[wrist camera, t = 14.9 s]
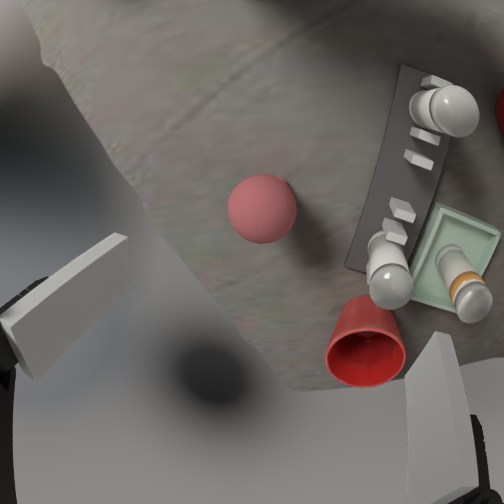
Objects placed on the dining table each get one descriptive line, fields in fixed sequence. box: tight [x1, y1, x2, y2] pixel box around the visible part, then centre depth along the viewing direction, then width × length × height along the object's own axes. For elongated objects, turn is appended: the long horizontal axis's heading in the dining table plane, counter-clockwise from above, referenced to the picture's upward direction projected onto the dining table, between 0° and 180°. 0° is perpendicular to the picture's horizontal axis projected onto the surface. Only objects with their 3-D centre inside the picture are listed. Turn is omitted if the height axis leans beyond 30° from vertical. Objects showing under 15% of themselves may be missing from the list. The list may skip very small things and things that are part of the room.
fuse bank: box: [345, 64, 454, 285], centre depth 31 cm, size 27×8×6 cm, turn 170°
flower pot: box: [325, 296, 406, 388], centre depth 40 cm, size 11×11×10 cm
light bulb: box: [228, 175, 297, 244], centre depth 34 cm, size 7×7×12 cm
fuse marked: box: [435, 244, 493, 323], centre depth 31 cm, size 5×5×11 cm
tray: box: [409, 201, 502, 313], centre depth 35 cm, size 13×10×2 cm
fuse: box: [368, 230, 414, 310], centre depth 32 cm, size 4×4×11 cm
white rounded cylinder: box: [408, 85, 479, 137], centre depth 24 cm, size 4×4×11 cm
